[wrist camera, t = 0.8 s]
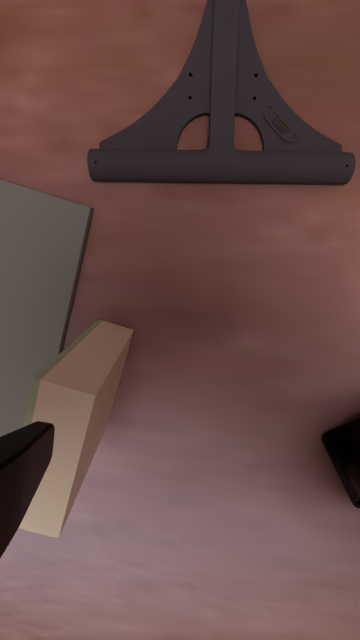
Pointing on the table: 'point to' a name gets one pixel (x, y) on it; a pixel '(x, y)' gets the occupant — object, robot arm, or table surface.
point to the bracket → (222, 121)
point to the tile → (74, 417)
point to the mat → (34, 287)
